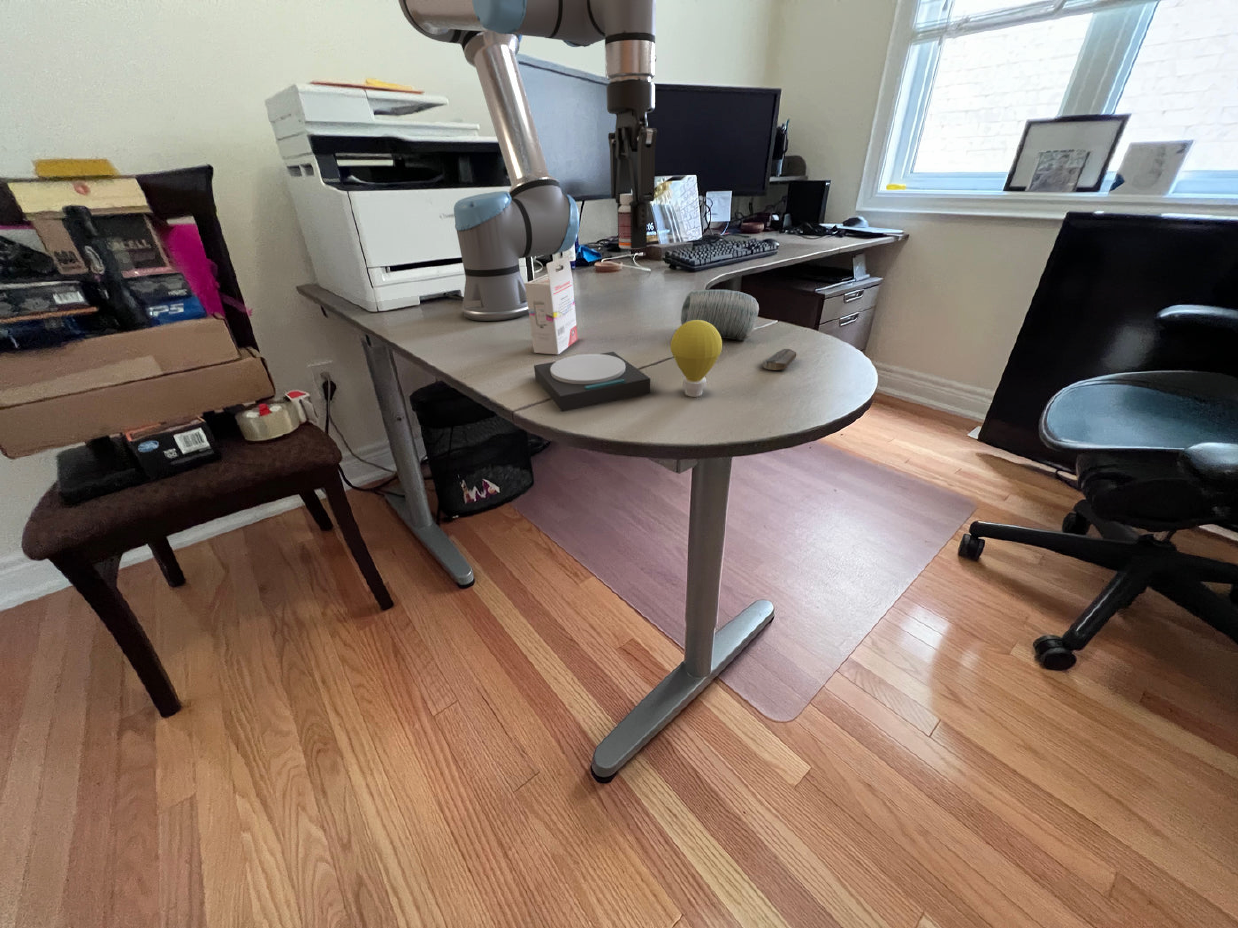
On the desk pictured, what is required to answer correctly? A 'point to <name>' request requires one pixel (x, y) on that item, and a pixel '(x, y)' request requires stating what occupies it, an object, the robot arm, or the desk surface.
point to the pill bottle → (625, 221)
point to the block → (780, 360)
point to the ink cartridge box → (552, 309)
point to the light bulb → (695, 353)
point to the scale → (590, 380)
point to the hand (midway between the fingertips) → (632, 245)
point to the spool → (722, 311)
